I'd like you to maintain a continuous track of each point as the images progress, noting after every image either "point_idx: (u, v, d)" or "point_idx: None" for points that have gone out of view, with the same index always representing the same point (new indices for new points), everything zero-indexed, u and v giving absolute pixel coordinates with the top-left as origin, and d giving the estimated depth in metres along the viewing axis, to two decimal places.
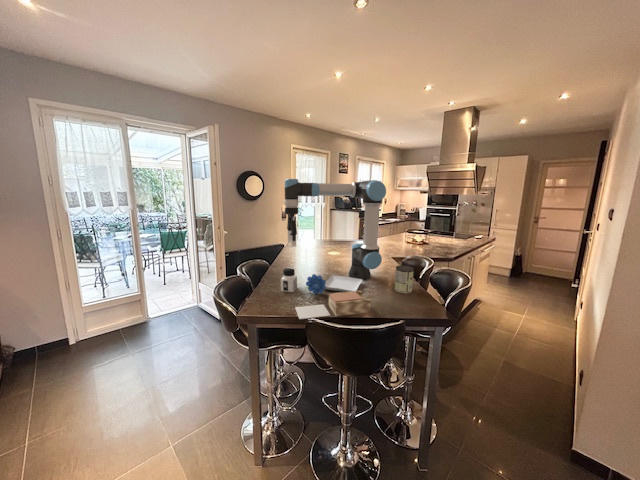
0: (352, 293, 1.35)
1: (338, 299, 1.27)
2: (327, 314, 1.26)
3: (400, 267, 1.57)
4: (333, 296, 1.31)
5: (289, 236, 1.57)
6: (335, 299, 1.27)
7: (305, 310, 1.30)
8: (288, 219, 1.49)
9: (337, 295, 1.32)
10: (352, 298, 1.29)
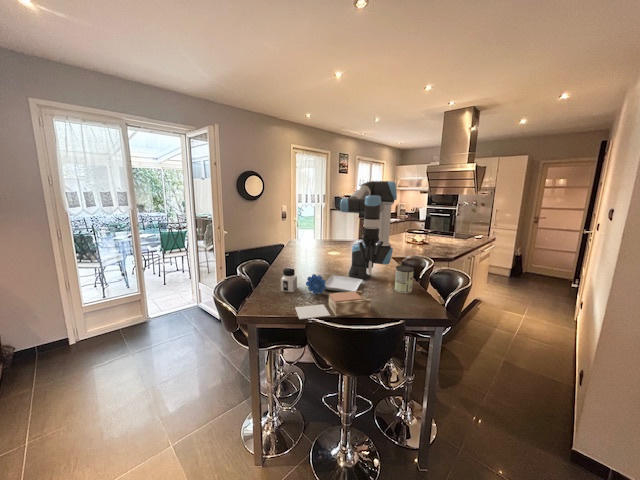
0: (352, 293, 1.35)
1: (338, 299, 1.27)
2: (327, 314, 1.26)
3: (400, 267, 1.57)
4: (333, 296, 1.31)
5: None
6: (335, 299, 1.27)
7: (305, 310, 1.30)
8: None
9: (337, 295, 1.32)
10: (352, 298, 1.29)
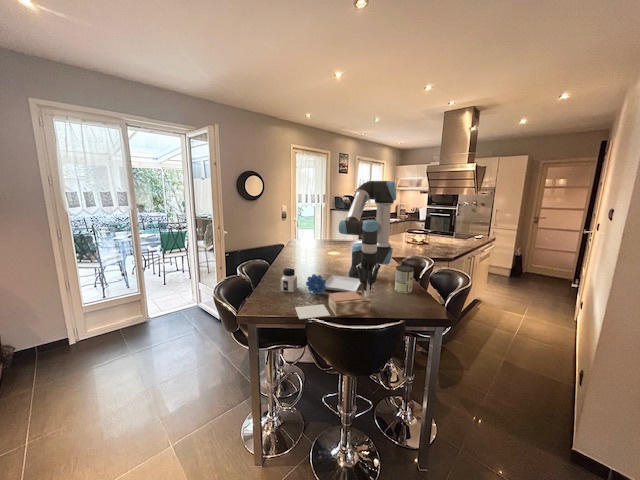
0: (352, 293, 1.35)
1: (338, 299, 1.27)
2: (327, 314, 1.26)
3: (400, 267, 1.57)
4: (333, 296, 1.31)
5: None
6: (335, 299, 1.27)
7: (305, 310, 1.30)
8: None
9: (337, 295, 1.32)
10: (352, 298, 1.29)
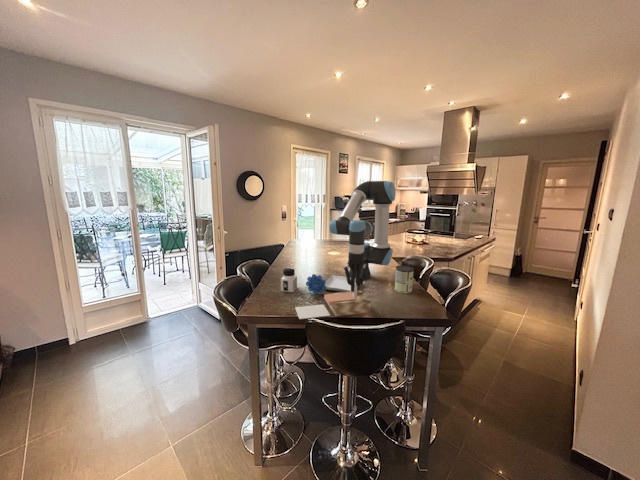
0: (347, 293, 1.34)
1: (332, 300, 1.26)
2: (327, 314, 1.26)
3: (400, 267, 1.57)
4: (327, 297, 1.30)
5: None
6: (329, 300, 1.26)
7: (305, 310, 1.30)
8: None
9: (331, 295, 1.32)
10: (346, 299, 1.28)
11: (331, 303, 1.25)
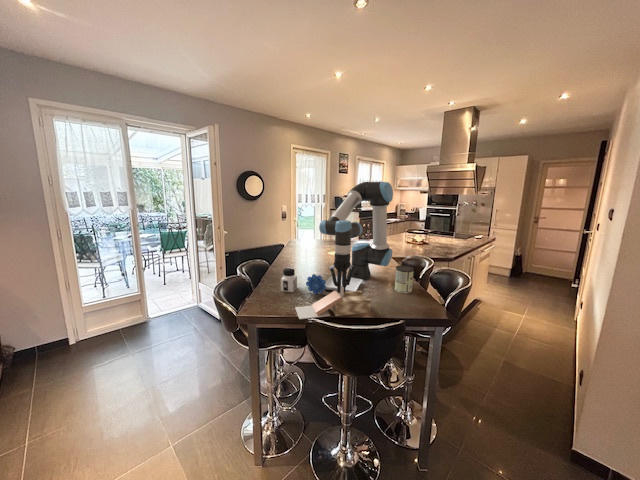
0: (332, 293, 1.32)
1: (319, 308, 1.25)
2: (327, 314, 1.26)
3: (400, 267, 1.57)
4: (314, 306, 1.29)
5: None
6: (316, 310, 1.26)
7: (305, 310, 1.30)
8: None
9: (318, 302, 1.31)
10: (331, 301, 1.26)
11: (318, 312, 1.24)
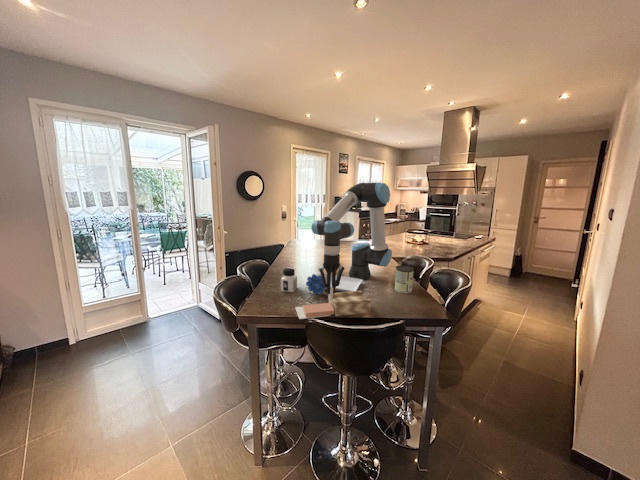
0: (326, 304, 1.32)
1: (309, 311, 1.25)
2: None
3: (400, 267, 1.57)
4: (305, 307, 1.28)
5: None
6: (306, 311, 1.25)
7: None
8: None
9: (310, 306, 1.30)
10: (324, 310, 1.26)
11: (308, 314, 1.23)
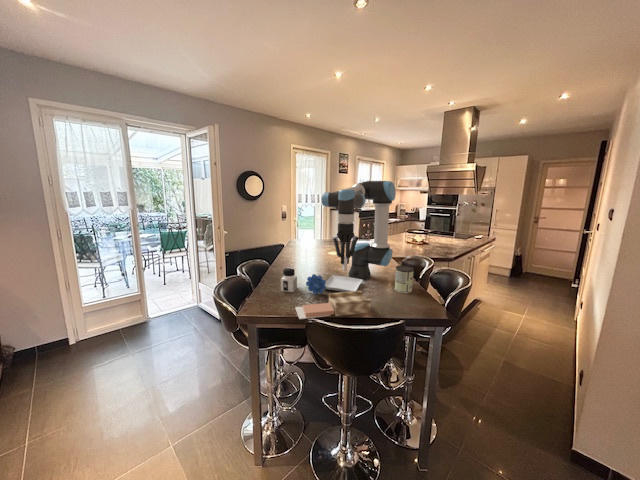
0: (326, 304, 1.32)
1: (309, 311, 1.25)
2: None
3: (400, 267, 1.57)
4: (305, 307, 1.28)
5: None
6: (306, 311, 1.25)
7: None
8: None
9: (310, 306, 1.30)
10: (324, 310, 1.26)
11: (308, 314, 1.23)
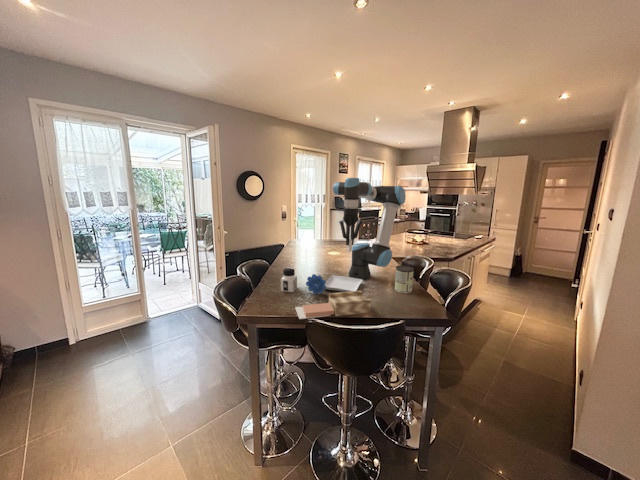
0: (326, 304, 1.32)
1: (309, 311, 1.25)
2: None
3: (400, 267, 1.57)
4: (305, 307, 1.28)
5: None
6: (306, 311, 1.25)
7: None
8: None
9: (310, 306, 1.30)
10: (324, 310, 1.26)
11: (308, 314, 1.23)
